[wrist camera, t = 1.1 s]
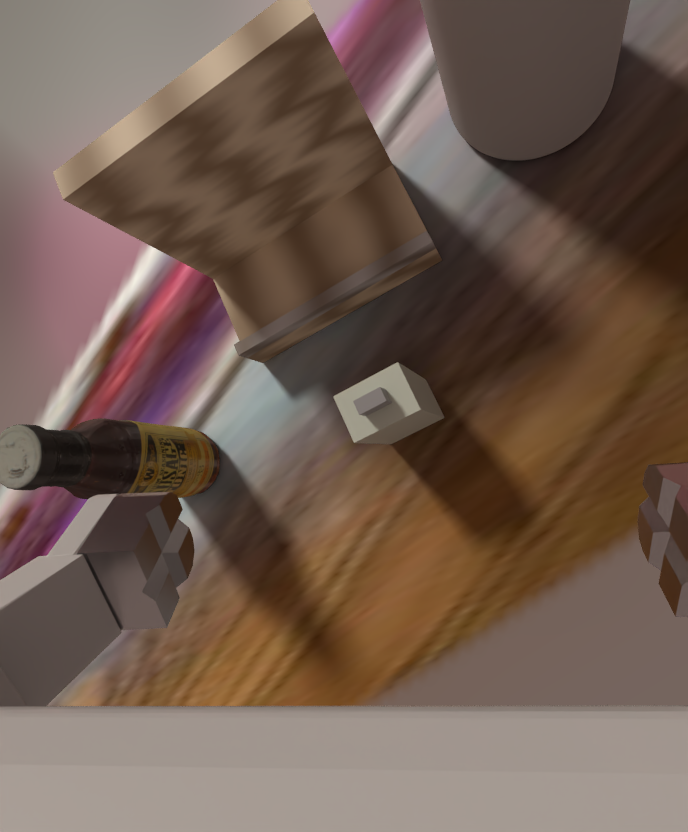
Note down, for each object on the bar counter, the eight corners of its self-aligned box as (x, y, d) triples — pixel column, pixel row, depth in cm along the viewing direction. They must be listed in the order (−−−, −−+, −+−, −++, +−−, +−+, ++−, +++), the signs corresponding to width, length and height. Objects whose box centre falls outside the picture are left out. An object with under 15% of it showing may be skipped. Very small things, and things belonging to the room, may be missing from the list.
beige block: (426, 379, 48) (392, 358, 37) (444, 417, 47) (416, 407, 36) (373, 406, 49) (325, 394, 38) (390, 444, 48) (347, 442, 37)
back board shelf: (390, 161, 50) (299, -17, 31) (442, 260, 48) (378, 135, 29) (222, 269, 54) (52, 172, 35) (262, 362, 52) (106, 313, 33)
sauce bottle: (211, 505, 53) (32, 535, 35) (158, 480, 55) (-39, 495, 36) (234, 439, 53) (66, 432, 34) (180, 416, 55) (-7, 397, 36)
